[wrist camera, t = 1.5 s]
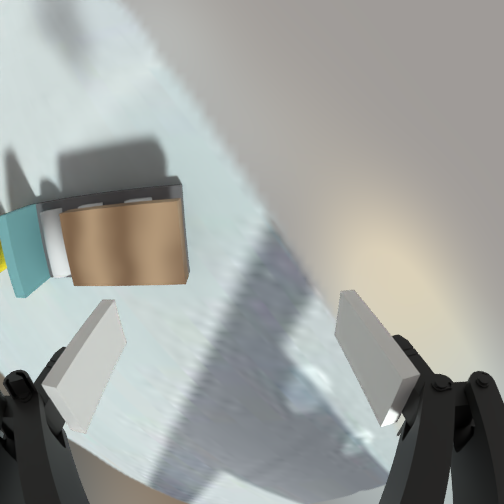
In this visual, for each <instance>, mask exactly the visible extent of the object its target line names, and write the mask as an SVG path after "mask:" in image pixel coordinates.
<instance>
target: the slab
mask: <svg viewBox="0 0 504 504" xmlns="http://www.w3.org/2000/svg"><path fill="white" fill-rule="evenodd" d="M59 216H60V223H61V229H62V234H63V240H64V245H65V250H66V254H67V259H68V263H69V267H70V272H71V276H72V280H73V283H74V286H131V285H175V284H186V282H187V279H188V276H189V274H188V266H187V257H186V247H185V237H184V226H183V215H182V202H181V198H175V199H162V200H151V201H140V202H130V203H120V204H111V205H102V206H94V207H86V208H79V209H71V210H67V211H65V212H62V213H60V214H59Z"/></svg>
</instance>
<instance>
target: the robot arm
mask: <svg viewBox="0 0 504 504" xmlns="http://www.w3.org/2000/svg"><path fill="white" fill-rule="evenodd" d="M335 337H336V339H337V341H338V342H339V344H340V346H341V348H342V350H343V352H344V354H345V356H346V358H347V360H348V362H349V364H350V366H351V368H352V370H353V372H354V374H355V376H356V378H357V380H358V382H359V384H360V386H361V388H362V390H363V392H364V394H365V396H366V398H367V400H368V402H369V404H370V406H371V408H372V410H373V412H374V414H375V416H376V418H377V420H378V422H379V424H380V426H381V427H382V426H385V425H389V424H392V423H395V422H397V421H398V419H399V417H400V415H401V413H402V414H403V416H404V417H405V419H406V420H405V421H404V423H403V425H402V427H401V428H400V430H399V432H398V434H397V436H399V435H400V433H401V435H400V439H399V443H398V446H397V450H396V454H395V457H394V461H393V464H392V467H391V471H390V474H389V477H388V480H387V483H386V486H385V489H384V491H383V494H382V497H381V499H380V502H379V504H444V499H445V494H446V490H447V484H448V479H449V472H450V467H451V476H452V490H453V504H504V403H503V401H502V398H501V395H500V393H499V390H498V388H497V386H496V383H495V381H494V379H493V378H492V377H491V376H490V375H489V374H488V373H485V372H482V371H477V372H474V373H472V375H471V376H470V378H469V379H468V381H467V382H453V381H452V380H451V379H450V378H448V377H447V376H445V375H441V374H434V373H433V372H432V370H431V369H430V367H429V366H428V365H427V364H426V362H425V361H424V360H423V359H422V357H421V356H420V355H418V352H417V351H416V350H415V349H413V346H412V345H411V344H410V343H409V341H408V340H406V339H405V338H403V337H402V336H400V335H394V336H391V335H390V333H389V332H388V331H387V330H386V328H385V327H384V326H383V325H382V323H381V322H380V321H379V320H378V318H377V317H376V316H375V315H374V313H373V312H372V311H371V310H370V308H369V307H368V306H367V305H366V303H365V302H364V301H363V300H362V299H361V297H360V296H359V295H358V294H357V293H356V291H355V290H347V291H341V293H340V301H339V308H338V316H337V322H336V329H335ZM126 343H127V342H126V338H125V335H124V332H123V328H122V325H121V321H120V318H119V314H118V310H117V306H116V302H115V300H102V301H101V302H100V303H99V305H98V306H97V307H96V308H95V310H94V311H93V312H92V314H91V315H90V316H89V317H88V319H87V320H86V321H85V323H84V324H83V325H82V327H81V328H80V329H79V331H78V332H77V333H76V335H75V336H74V337H73V339H72V340H71V342H70V343H69V344H68V346H67V347H62V348H61V349H59V350H58V351H57V352H55V354H54V355H53V356H52V358H51V359H50V361H49V362H48V363H47V365H46V367H45V368H44V369H43V371H42V372H41V374H40V375H39V376H38V378H37V379H36V381H35V382H34V384H33V382H32V380H31V378H30V377H29V375H28V373H27V372H26V371H23V370H16V371H13V372H11V373H10V374H9V375H7V376H6V378H5V379H4V382H3V385H4V386H5V388H6V389H7V391H8V393H9V394H10V396H4V395H3V394H2V392H1V391H0V430H1V431H2V432H3V433H4V436H3V438H1V437H0V504H90V503H89V501H88V499H87V496H86V494H85V491H84V489H83V486H82V484H81V481H80V478H79V475H78V472H77V469H76V466H75V463H74V460H73V457H72V454H71V450H70V447H69V443H68V439H67V435H66V433H65V431H64V429H63V426H64V423H65V422H66V424H67V425H68V426H69V428H70V429H71V430H72V431H76V432H80V433H84V434H86V433H87V430H88V428H89V425H90V423H91V420H92V418H93V415H94V413H95V411H96V408H97V406H98V404H99V401H100V399H101V397H102V394H103V392H104V390H105V388H106V385H107V383H108V381H109V379H110V377H111V374H112V372H113V370H114V368H115V366H116V364H117V362H118V360H119V357H120V355H121V353H122V351H123V349H124V347H125V345H126Z"/></svg>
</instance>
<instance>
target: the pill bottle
mask: <svg viewBox="0 0 504 504" xmlns="http://www.w3.org/2000/svg"><path fill="white" fill-rule="evenodd" d="M6 268H7V265H6V262H5V258H4V254H3V249H2V245H1V240H0V272H2V271H3V270H5V269H6Z"/></svg>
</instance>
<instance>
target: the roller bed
mask: <svg viewBox="0 0 504 504" xmlns="http://www.w3.org/2000/svg"><path fill="white" fill-rule="evenodd" d="M175 198H181V202H182V215H183V226H184V237H185V247H186V257H187V266H188V274H189V272H190V269H189V260H188V250H187V240H186V229H185V218H184V205H183V191H182V184H180V185H168V186H157V187H147V188H138V189H129V190H120V191H112V192H105V193H97V194H90V195H84V196H77V197H71V198H65V199H59V200H53V201H47V202H42V203H37V204H32V205H28V206H25V207H22V208H19V209H17V210H14V211H11V212H9V213H6V214H4V215H1V216H0V240H1V245H2V249H3V254H4V258H5V262H6V265H7V269H8V273H9V276H10V280H11V283H12V286H13V289H14V293H15V296H16V297H18V298H26V297H28V296H29V295H30V294H31V293H32V292H33V291H35V290H36V289H37V288H38V287H39V286H40V285H42V284H43V283H44V282H45V281H47V280H48V279H49V278H50V277H54V278H62V277H72V276H71V272H70V267H69V263H68V259H67V254H66V250H65V245H64V240H63V234H62V229H61V223H60V216H59V214H60V213H62V212H65V211H67V210H71V209H79V208H86V207H94V206H102V205H111V204H120V203H130V202H140V201H151V200H162V199H175Z"/></svg>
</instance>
